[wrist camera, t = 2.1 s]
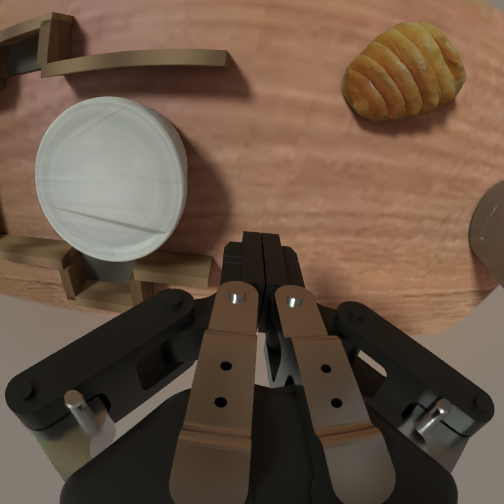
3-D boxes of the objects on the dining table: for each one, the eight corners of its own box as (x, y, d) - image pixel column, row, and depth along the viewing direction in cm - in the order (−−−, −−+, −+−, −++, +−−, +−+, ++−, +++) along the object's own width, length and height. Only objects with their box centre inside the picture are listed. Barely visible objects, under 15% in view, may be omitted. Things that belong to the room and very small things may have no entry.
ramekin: (104, 242, 25) (79, 278, 21) (51, 130, 19) (11, 148, 15) (220, 205, 23) (212, 240, 19) (170, 68, 18) (145, 65, 13)
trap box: (237, 3, 15) (234, -9, 13) (210, 301, 28) (206, 324, 26) (-24, 50, 14) (-44, 53, 11) (5, 270, 27) (-8, 285, 24)
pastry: (366, 140, 20) (386, 152, 17) (318, 62, 18) (331, 58, 14) (454, 90, 18) (482, 96, 14) (416, 15, 15) (442, 9, 11)
